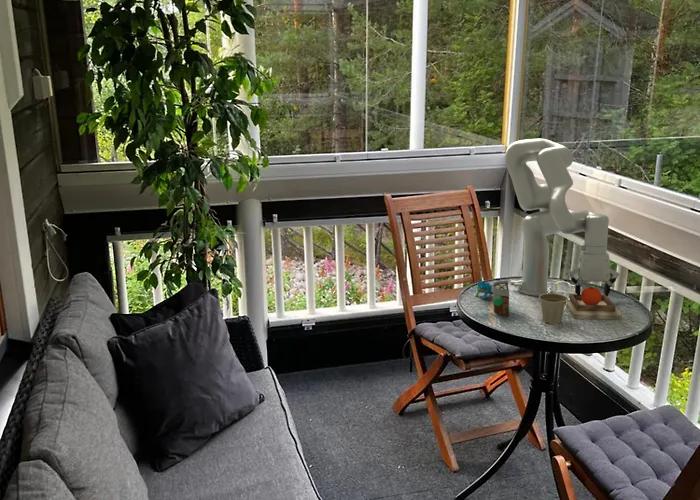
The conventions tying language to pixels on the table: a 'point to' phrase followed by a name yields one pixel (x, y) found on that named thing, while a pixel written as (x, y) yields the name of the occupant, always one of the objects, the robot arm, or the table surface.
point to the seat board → (592, 308)
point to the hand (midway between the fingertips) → (592, 295)
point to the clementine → (591, 296)
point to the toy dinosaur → (484, 289)
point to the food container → (501, 298)
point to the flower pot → (552, 307)
